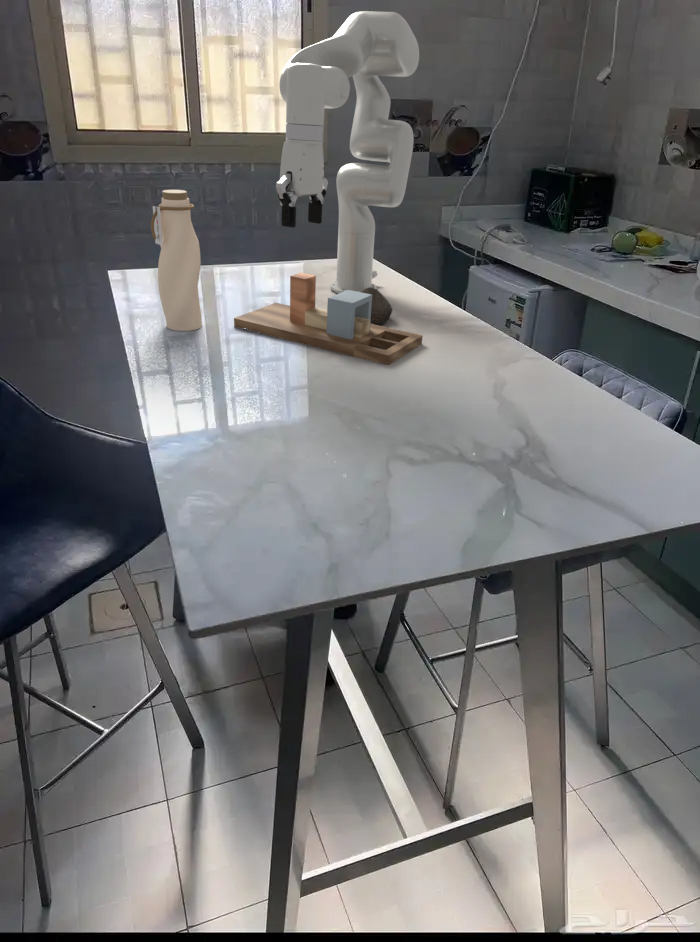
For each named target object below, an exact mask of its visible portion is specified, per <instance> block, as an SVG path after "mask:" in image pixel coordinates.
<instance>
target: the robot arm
mask: <svg viewBox="0 0 700 942" xmlns="http://www.w3.org/2000/svg"><path fill="white" fill-rule="evenodd" d="M419 62H420V48H419V43H418V41H417V38H416V36H415V34H414V32H413V30H412V29H411V26H410V24H409V23H408V22H407V21H406V19H405V18H404V17H403V16H402V15H401V14H400V13H397V12H396V11H375V10H373V11H372V10H371V11H369V10H363V11H356V12H354V13H352V14H350V15H349V16H348V17H347V18H346V20H345V21H344V22H343V24H342V25H341V26H340V27H339V28H338V29H337V31H336V32H335V33H334V34H333V36H332V37H329V38H327V39H324V40H321V41H319V42H317V43H314V44H311V45H309V46H307V47H304V48H302V49H300V50H299V51H298V52H296V53H295V54H294V55H292V57H291V58H290V59H289V60H288V61H287V63H285V66H284V67H283V69H282V71H281V74H280V76H279V77H280V79H279V84H278V86H279V92H280V97H281V98H282V100H283V101H284V102H285V103H286V110H285V112H286V113H285V114H286V115H285V118H286V119H285V141H284V142H283V146H282V151H281V157H280V158H281V159H280V167H279V168H280V170H279V180H278V181H277V182H276V183H275V188H276V192H277V197H278V199H279V204H280V206H281V226H282V227H286V228H287V227H288V228H296V225H297V221H296V219H297V206H295V204H296V202H297V200H298V198H299V197H308V198H309V200H310V202H308V209H307V210H308V212H307V213H308V214H307V216H308V217H307V221H308V223H310V224H311V223H313V224H319V225H320V224H322V220H323V204H324V202H325V196H326V194H327V188H328V184H329V181H328V179H327V178H326V177H325V160H324V147H323V145H324V129H325V109H330V110H331V109H338V108H341V107H342V106H344V105H345V104H346V102H347V101H348V99H349V96H350V91H351V84H350V80H349V78H351V77H352V79H353V84H354V88H355V91H356V101H355V103H356V104H355V109H354V114H353V115H354V116H353V120H352V126H351V131H350V138H349V151H350V153H351V155H352V156H353V157H354V158H356V159H358V160H364V161H371V162H381V163H382V162H383V163H389V165H383V164H382V165H380V164H374V163H363V162H351V163H346V164H344V165H342V166H341V167H340V168H339V170H338V171H337V175H336V182H335V183H336V192H337V194H336V195H337V202H338V231H337V232H338V233H337V234H338V236H337V257H336V259H337V260H336V280H335V281H334V282H331V283H330V286H329V287H330V290H331V291H332V292H333V293H336V294H339V293H341V292H344V291H346V290H352V291H357V292H360V291H362V290H364V289H366V288H375V289H377V290H378V287H377V285H375V284H374V283H373V282H372V280H373V279H375V278H377V277H378V272H377V271H376V270H373V266H374V265H373V264H374V249H375V247H374V246H375V233H376V222H375V218H374V215H373V213H372V212H371V210H370V208H369V206H373V207H383V208H396V207H399V206H400V205H401V204H402V202H403V200H404V197H405V194H406V190H407V189H406V188H407V183H408V178H409V172H410V167H411V162H412V156H413V151H414V142H415V141H414V132H413V128H412V126H411V124H409V123H408V122H406V121H403V120H398V119H389V115H390V111H391V110H390V109H391V103H392V102H391V97H390V95H389V92H388V91H387V88H386V86H385V85H384V84H383V82H382V81H381V79H380V78H379V76H381V77H400V78H405V77H406V78H407V77H410V76H412V75H413V74H414V73H415V72H416V70H417V69H418V66H419Z"/></svg>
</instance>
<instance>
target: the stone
mask: <svg viewBox="0 0 700 942" xmlns="http://www.w3.org/2000/svg"><path fill="white" fill-rule="evenodd" d="M360 292H361V293H366V294H371V295H372V306H371V322H370V324H374V325H378V326H384V325H386V323H387V322H388V321H389V319H390V317H391V315H392V312H393V307H392V306H391V304H390V302H389V301H388V299H386V298H385V296H384V295H383V294H382V293H381V292H380V291H378V288H377V289H375V288H366V289H364V290H362V291H360Z"/></svg>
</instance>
